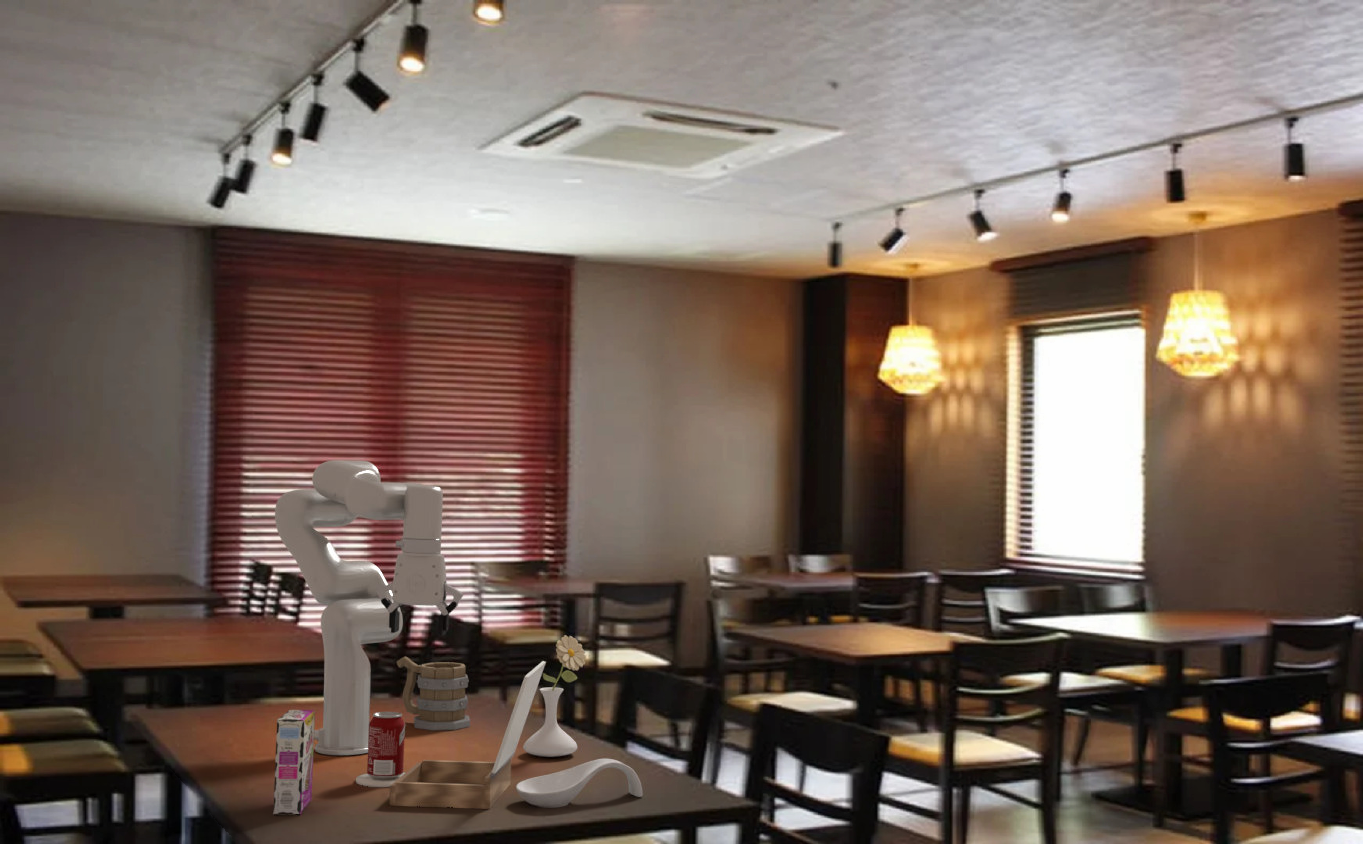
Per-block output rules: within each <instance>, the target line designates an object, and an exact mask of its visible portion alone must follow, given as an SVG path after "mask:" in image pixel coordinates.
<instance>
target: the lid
mask: <svg viewBox="0 0 1363 844" xmlns="http://www.w3.org/2000/svg"><path fill="white" fill-rule="evenodd" d="M546 663H547V661H544V660H542V661H541V662H540V663H538V665H536V666H535V667H534V668H532V670H530V671H529V672H528V673H527V674H526V675H524V678H523V681H522V683H521V687H520V689H519V693H518V695H517V697H516V700H515V704H514V707H513V710H512V712H511V716H510V718H509V721H508V724H507V727H506V729H505V733H504V736H503V739H502V742H501V745H500V746H499V750H498V752H497V756H496V759H495V761H494V762H495V764H494V767H493V770H492V773H491V774H490V777H491V778H494V777H495V776H496V775H497V773H498V772H499V771H500V770H501V769H502V768H503V767H504V766H505V765H506V763H507V762H508V761H509V760H510V759H511V760H512V758H513V757H514V756H515V752H516V750H517V747H518V744H519V742H520V738H521V736H522V733H523V729H524V727H525V724H526V721H527V718H528V715H529V712H530V710H531V707H532V704H533V700H534V697H535V695H536V692H537V690H538V687H539V683H540V680H541V677H542V676H543V673H544V672H543V671H544V669H545V666H546Z"/></svg>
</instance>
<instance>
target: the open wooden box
mask: <svg viewBox="0 0 1363 844" xmlns="http://www.w3.org/2000/svg"><path fill="white" fill-rule="evenodd" d="M494 764H495V761H474V760H473V761H472V760H471V761H467V760H439V759H438V760H436V759H433V760H432V759H422V761H420V762H419V761H418V762H417V763H415V764H414V765H413V766H412V767H411V768H409V769H408V770H407V771H405V772H404V773H405V774H404V775H402V776H401V777H400V778H399V779H397V780H396V781H395V782H394V783H393V784H391V785H390V787H389V806H390V805H391V806H392V807H395V806H396V807H417V806H418V808H419V806H420V807H421V808H422V807H425V808H447V807H450V808H451V807H453V809H455V808H456V809H478V810H479V809H480V810H482V809H485V810H491V808H492V807H493V806H494V805H495V803H496V802H497V801H498V800H499V798H500V797H501V796H502V795H503V793H504V792H505V791H506V790H507V789H508V787H509V786H510V785H511V783H512V782H511V780H512V779H511V778H512V777H511V776H512V758H511V759H510V760H509V761H508V762H507V763H506V765H505V766H504V767H503V768H502V769H501V770H500V771H499V772H498V773H497V775H496V776H495V777H494V778H491V777H490V774H491V773H492V770H493V767H494ZM451 809H452V808H451Z"/></svg>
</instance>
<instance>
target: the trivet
mask: <svg viewBox="0 0 1363 844" xmlns="http://www.w3.org/2000/svg"><path fill="white" fill-rule="evenodd" d="M405 773H406V772H404V771H403V774H402V775H404V774H405ZM402 775H401V776H402ZM401 776H399V777H398V778H396V779H391V780H377V779H373V778H372V777H371V776H369V775H368V774H367V773H364V774H359V775H358V776H356V777H355V783H356V784H357V785H360V786H362V785H363V787H367V786H368V788H390V785H391V784H393V783H394V782H395V781H396V780H397V779H399V778H400V777H401Z"/></svg>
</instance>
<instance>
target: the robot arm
mask: <svg viewBox="0 0 1363 844" xmlns="http://www.w3.org/2000/svg"><path fill="white" fill-rule="evenodd" d="M381 478H382V477H381V474H380V472H379V469H378V468H377V466H375V464H374V463H371V461H366V460H349V459H348V460H345V459H344V460H343V459H342V460H340V459H337V460H335V459H333V460H328V461H325V462H323V463H321V464H319V465H318V466H317V467H316V468H315V469H314V471H313V473H312V479H311V481H312V485H313V488H300V489H299V488H298V489H294V490H290V491H287V492H285V493H283V494H282V495H281V496H280V497H279V498H278V499H277V501H276V504H275V508H274V509H275V510H274V519H275V520H274V523H275V527H276V530H277V533H278V536H279V538H280V540H281V541H282V543H283V545H284V546H285V547H286V549H287V551H288V552H289V553H290V555H291V556H292V557H293V559H294V560H295V561H296V563H297V565H298V568H299V570H300V572H301V574H302V576H303V578H304V580H305V583H306V585H307V586H308V589H309V590H310V593H311V594H312V596H313V598H314V600H315V601H316V602H317V603H318V604H319V605H322V606H326V607H325V608H324V610H323V611H322V613H321V615H320V616H321V617H320V630H321V636H322V641H323V651H324V653H323V654H324V658H323V659H324V664H323V666H324V668H323V669H324V673H323V675H324V681H323V683H324V684H323V718H322V719H323V720H322V727H321V728H319V729H317V730H316V729H314V741H317V743H316V744H314V751H315V752H316V753H318V754H321V755H327V756H353V755H354V756H355V755H356V756H357V755H363V754H368V738H369V723H370V710H371V709H370V708H371V707H370V706H371V704H370V703H371V671H372V669H371V662H370V660H369V658H368V655H367V654H366V653H365V651H364V649H363V647H362V645H367V644H375V643H385V642H389V641H392V640H394V639H396V638H398V637H399V635H400V634H401V632H402V630H403V625H404V623H403V622H404V621H403V620H404V619H403V613H402V611H401V606H403V605H404V606H405V605H407V606H408V605H409V606H411V605H412V606H424V607H425V606H426V607H427V606H428V607H429V606H430V607H433V606H435V607H436V608H437V609H438V610H439V612H440V615H439V616H438V629H437V630H438V631H437V632H438V634H437V635H439V636H445V635H446V633H447V632H448V631H449V625H450V624H449V623H450V621H449V620H450V614H451V613H452V612H453V611H454V610H455V609H456V608H457V607H458V606H459V604H460V602H461V601H462V599H463V596H464V593H463V592H462V591H460V590H458V589H456V588H455V587H453V586H451V585H450V584H448V583H447V571H446V561H445V555H444V554H441V551H442V529H443V527H442V525H443V502H444V501H443V499H444V493H443V490H442V488H441V487H439V486H435V485H427V484H426V485H423V484H420V483H416V482H392V481H391V482H388V481H387V482H383V481H382V482H381ZM358 517H361V518H364V519H367V520H372V521H373V520H374V521H386V520H398V521H399V520H402V521H403V526H402V527H403V528H402V529H403V531H402V538H401V539H400V540H396V541H395V547H396V548H399V549H401V552H400V553H397V558H396V562H395V567H394V573H393V581H392V582H390V583H388V581H387V579H386V578H385V575H384V574H383V572H382V571H381V569H380V568H379V567H378V566H377V565H375V564H374V563H373V562H372V561H371V562H370V561H366V560H344V559H342V558H341V557H340V556H339V555H338V553H337V551H336V548H335V546H334V544H332V542H331V541H330V540H329V539H328V538H327V537H326V536H324V534H322V533H321V532H319V531H318V530H316V529H315V528H334V527H335V528H337V527H338V528H340V527H345V526H348V525H350V524H351V523H353V522H355V520H356V519H357V518H358ZM447 594H449V595H451V596H452V597H453V599H452V600H451V602H450V603H449V604H448V603H447V602H446V600H447Z"/></svg>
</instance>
